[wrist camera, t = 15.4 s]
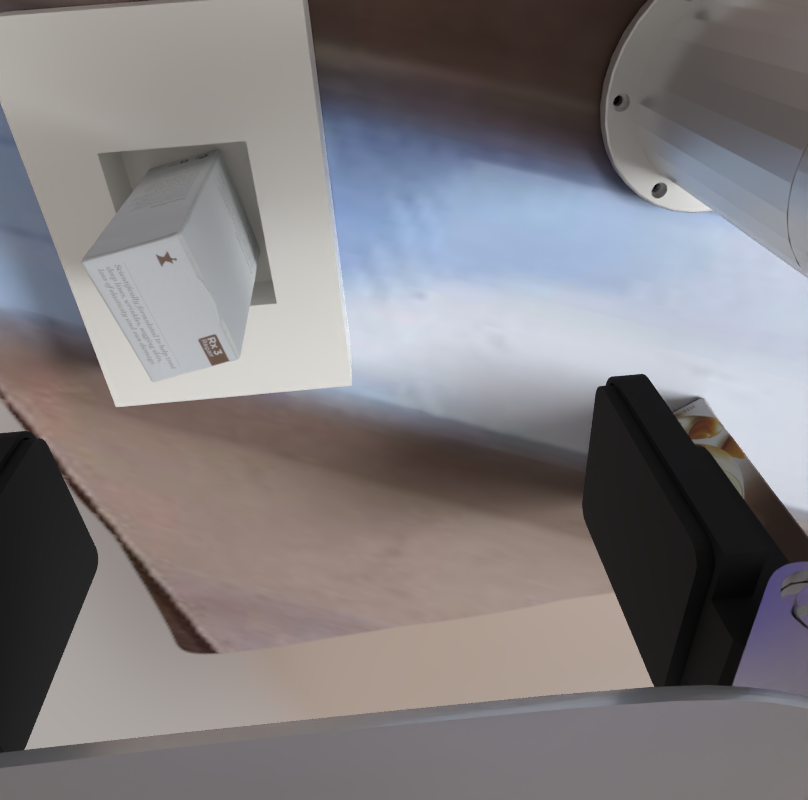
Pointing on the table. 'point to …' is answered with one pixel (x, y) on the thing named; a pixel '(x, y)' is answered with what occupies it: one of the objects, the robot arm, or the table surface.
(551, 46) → the table surface
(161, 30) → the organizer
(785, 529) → the coffee box
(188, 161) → the skincare box
